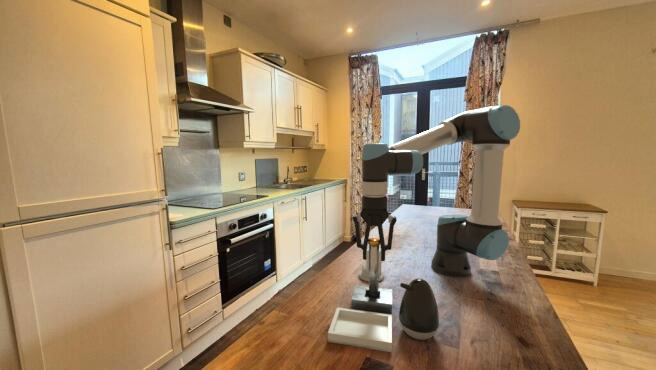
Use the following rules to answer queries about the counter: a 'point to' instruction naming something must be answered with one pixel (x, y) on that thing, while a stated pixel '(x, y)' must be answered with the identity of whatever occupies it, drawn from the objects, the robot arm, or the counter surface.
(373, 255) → the pin
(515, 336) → the counter surface
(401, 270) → the counter surface
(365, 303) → the block
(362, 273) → the mechanical component
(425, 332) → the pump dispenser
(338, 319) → the tray
